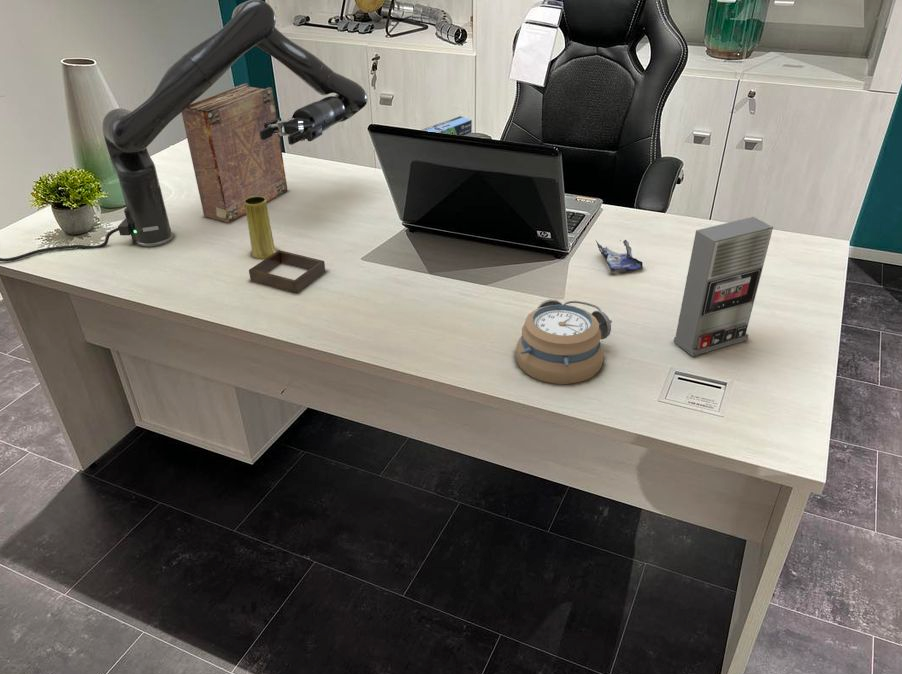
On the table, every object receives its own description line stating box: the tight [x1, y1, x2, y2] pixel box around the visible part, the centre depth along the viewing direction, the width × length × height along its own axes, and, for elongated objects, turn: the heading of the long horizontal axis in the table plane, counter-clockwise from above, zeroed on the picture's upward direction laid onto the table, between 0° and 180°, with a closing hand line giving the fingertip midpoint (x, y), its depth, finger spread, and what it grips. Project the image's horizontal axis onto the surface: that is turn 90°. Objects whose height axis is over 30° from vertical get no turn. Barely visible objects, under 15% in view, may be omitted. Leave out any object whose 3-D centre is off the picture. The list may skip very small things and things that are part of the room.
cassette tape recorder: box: [673, 216, 774, 357], centre depth 148 cm, size 14×6×25 cm, turn 114°
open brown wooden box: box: [248, 249, 327, 294], centre depth 182 cm, size 14×12×3 cm
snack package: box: [595, 239, 644, 273], centre depth 183 cm, size 12×6×12 cm
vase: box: [244, 196, 277, 259], centre depth 189 cm, size 6×6×14 cm
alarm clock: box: [515, 299, 613, 385], centre depth 152 cm, size 17×9×23 cm
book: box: [181, 82, 288, 224], centre depth 210 cm, size 25×9×30 cm, turn 150°
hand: (275, 138), depth 186 cm, fingers open, 8 cm apart
